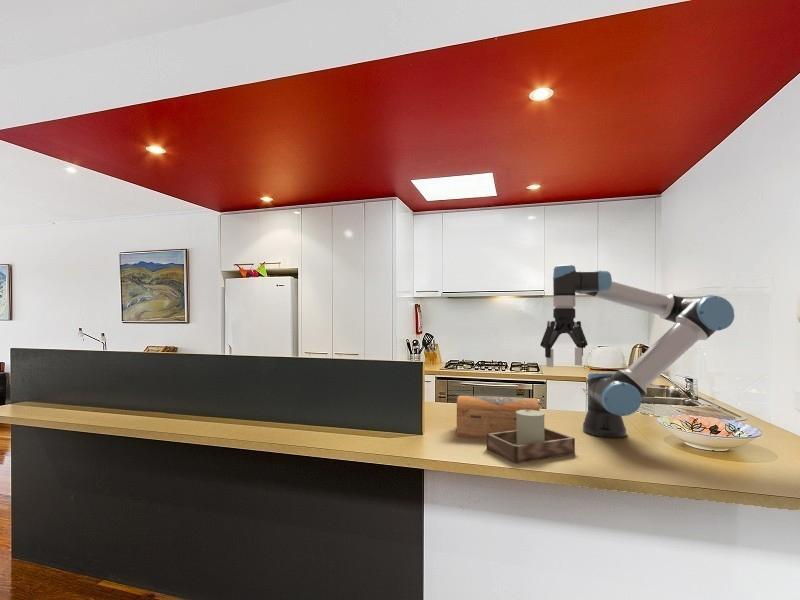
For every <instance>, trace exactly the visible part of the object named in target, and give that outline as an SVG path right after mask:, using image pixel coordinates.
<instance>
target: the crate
mask: <svg viewBox="0 0 800 600" xmlns="http://www.w3.org/2000/svg"><path fill="white" fill-rule="evenodd" d="M544 440H545V441H544V442H537V443H530V444H523V445H516V444H517V430H514V431H506V432H498V433H490V434H487V438H486V450H488V451H490V452H493V453H494V454H496V455H498V456H500V457H503V459H507V460H508V461H510V462H512V463H514V464H520V463H528V462H532V461H538V460H543V459H550V457H551V458H556V456H557V457H563V456H562V455H564V456H569V454H570V455H575V453H576V446H575V445H576V444H575V443H576V442H575V441H576V438H575V437H572V436H569V435H567V434H563V433H561V432H558V431H556V430H554V429H549V428H547V427H544Z"/></svg>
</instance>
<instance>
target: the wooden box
mask: <svg viewBox="0 0 800 600" xmlns="http://www.w3.org/2000/svg"><path fill="white" fill-rule="evenodd" d="M518 410H536V411H541V410H540V402H539V400H538V399H537V398H533V397H532V398H531V397H529V398H528V397H513V396H490V395H487V396H486V395H457V399H456V437H463V438H475V439H476V438H478V439H487V434H490V433H498V432H506V431H514V430H517V421H516V411H518Z"/></svg>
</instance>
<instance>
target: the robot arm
mask: <svg viewBox="0 0 800 600" xmlns="http://www.w3.org/2000/svg"><path fill="white" fill-rule="evenodd" d="M552 279H553V280H552V282H553V285H552V286H553V287H552V288H553V290H552V291H553V296H552V297H553V298H552V299H553V300H552V301H553V304H552V305H553V307H554V308H553V309H552V311H553V312H552V315H553V316H552V318H554V320H548V321H547V324H546V329H545V331H544V333H543V336H542V338H541V341H540V347H542V348H543V349H544V352H545V353H544V356H545V358H546V362H545V363H546V367H548V368H554V365H555V364H554V348H553V346H554V345H555V343H556V342H557V340H558V339H559V337H560V336H561V335H562V334H567V335H569V337H570V338H571V339H572V342H573V343H574V345H575V347H574V365H575V366H582V367H583V356H584V349H585V348H586V347H587V346H588V341H587V338H586V335H585V333H584V330H583V328H582V322H581V320H574V319H576V309H575V307H576V293H577V294H579V295H587V296H589V297H595V298H598V299H601V300H605V301H608V302H612V303H616V304H619V305H622V306H626V307H630V308H634V309H637V310H640V311H644V312H648V313H650V314H655V315H658V316H659V317H660V319H662V320H666V321H670V322H672V323H673V324H674V323H675V324H674V325H673V326H672V327H671V328H669V329H668V330H667V331H666V332H665V333H664V334H663V335H662V336H661V337H659V339H657V340H656V341H655V342H654V343H653V344H652V345H651V346H650V347H649V348H648V349H646V350H645V351H644V353H642V354H641V355H640V356H639V357H638V358H637V359H635V361H634V362H633V363H632V364H631V365H630V366H628V367H627V368H626V369H618V370H617V371H616V372H611V373H610V372H589V373H588V374H587V380H586V383H587V412H586V415H585V418H584V421H583V424H582V431H583V432H584V433H587V434H588V435H591V436H596V437H599V438H600V437H602V438H610V439H611V438H613V439H616V438H617V439H618V438H625V437H626V436H627V428H626V425H625V423H624V418H623V417H626V416H630V415H633V414H635V413H636V412H637V411H638V410H639V409H640V406H641V405H642V399H644V397H645V396H646V395H647V394H648V391H647V388H648V387H649V386H650V385H651V384H652V383H653V382H654V381H656V379H657V378H659V377H660V376H661V375H662V374H663V373H665V371H666V370H667V369H668V368H670V367H671V366H672V365H673V364H674V363H675V362H676V361H678V359H680V358H681V356H683V355H684V354H685V353H686V352H687V351H688V350H689V349H690V348H691V347H693V346H694V345H695V344H696V343H697V342H698V341H706V340H708V338H710V337H711V336H712V335H713V334H715V332H717V331H722V330H726V329H727V328H728V327H730V326H731V325H732V324H733V322H734V320H735V309H734V307H733V305H732V303H731V302H730V301H729V300H728V299H726V298H725V297H722V296H719V295H713V294H709V295H705V296H678V295H677V296H676V295H673V294H667V295H663V294H659V293H656V292H652V291H648V290H645V289H642V288H641V289H640V288H638V287H634V286H629V285H626V284H623V283H619V282H615V281H613V279H612V274H611V272H610V271H607V270H577V269H576V266H575V265H574V264H573V265H572V264H561V265H556V266H555V267H554V268H553V277H552Z"/></svg>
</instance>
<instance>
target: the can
mask: <svg viewBox="0 0 800 600" xmlns="http://www.w3.org/2000/svg"><path fill="white" fill-rule="evenodd" d="M545 414H546V413H545V412H544V411H541V410H540V411H536V410H518V411H516V421H517V444H516V445H523V444H530V443H537V442H544V441H545V440H544V428H545Z"/></svg>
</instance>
